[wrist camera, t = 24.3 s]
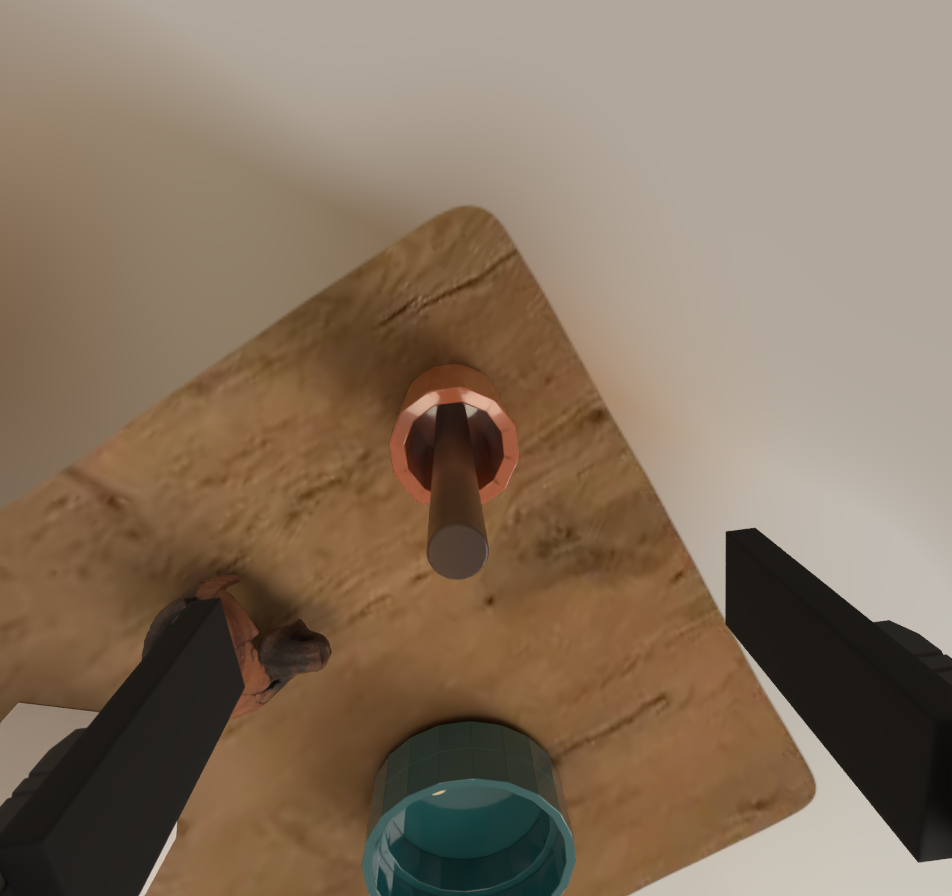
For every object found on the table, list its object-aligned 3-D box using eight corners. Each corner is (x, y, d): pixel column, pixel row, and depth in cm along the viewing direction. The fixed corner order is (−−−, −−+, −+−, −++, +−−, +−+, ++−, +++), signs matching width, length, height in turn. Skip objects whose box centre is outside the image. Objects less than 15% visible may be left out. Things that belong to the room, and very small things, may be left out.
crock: (496, 357, 37) (511, 380, 28) (506, 453, 39) (523, 501, 30) (395, 370, 37) (380, 396, 28) (410, 466, 39) (401, 518, 30)
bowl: (551, 703, 45) (567, 765, 39) (565, 850, 49) (581, 925, 44) (357, 730, 45) (344, 796, 39) (389, 875, 49) (381, 954, 43)
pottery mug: (223, 700, 44) (130, 738, 36) (217, 575, 45) (128, 586, 38) (363, 693, 41) (295, 733, 33) (352, 559, 42) (285, 566, 34)
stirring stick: (464, 398, 37) (485, 520, 18) (468, 427, 38) (492, 576, 19) (434, 402, 37) (422, 528, 18) (438, 431, 38) (431, 584, 18)
